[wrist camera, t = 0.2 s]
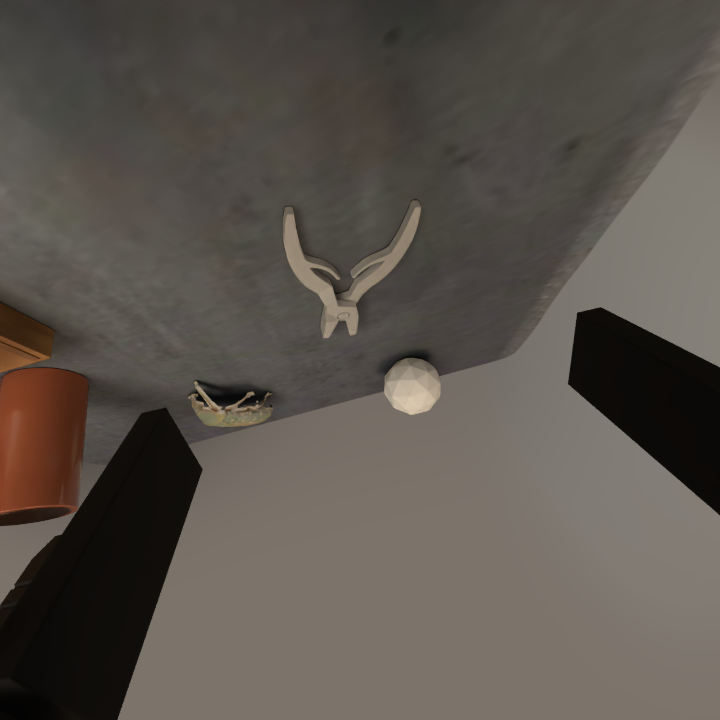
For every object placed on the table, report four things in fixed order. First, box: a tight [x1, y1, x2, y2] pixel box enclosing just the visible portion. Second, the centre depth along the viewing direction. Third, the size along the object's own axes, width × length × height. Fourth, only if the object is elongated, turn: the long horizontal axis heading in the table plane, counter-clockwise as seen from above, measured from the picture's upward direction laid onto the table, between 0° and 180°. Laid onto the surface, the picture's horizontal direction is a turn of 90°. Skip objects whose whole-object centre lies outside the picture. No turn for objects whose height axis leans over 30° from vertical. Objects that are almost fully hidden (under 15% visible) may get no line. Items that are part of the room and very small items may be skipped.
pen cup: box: [0, 368, 89, 526], centre depth 32 cm, size 6×6×12 cm
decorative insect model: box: [188, 381, 273, 427], centre depth 45 cm, size 9×11×5 cm
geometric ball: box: [384, 358, 440, 415], centre depth 49 cm, size 8×8×8 cm
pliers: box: [282, 200, 421, 338], centre depth 30 cm, size 10×2×15 cm
